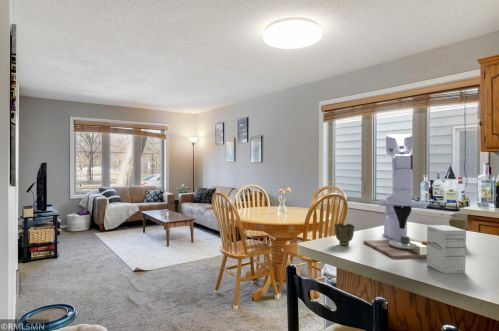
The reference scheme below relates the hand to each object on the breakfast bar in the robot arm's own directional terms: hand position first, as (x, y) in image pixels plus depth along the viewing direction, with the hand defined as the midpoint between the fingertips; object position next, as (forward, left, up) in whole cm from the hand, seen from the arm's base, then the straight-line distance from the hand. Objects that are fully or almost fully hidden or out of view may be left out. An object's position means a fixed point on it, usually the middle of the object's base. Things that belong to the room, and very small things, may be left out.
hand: (401, 228), depth 106 cm
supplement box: (+15, +5, -10) cm, 18 cm away
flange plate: (-4, +5, -8) cm, 10 cm away
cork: (-7, +28, -10) cm, 30 cm away
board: (-6, +6, -9) cm, 13 cm away
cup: (-14, -14, -10) cm, 23 cm away
